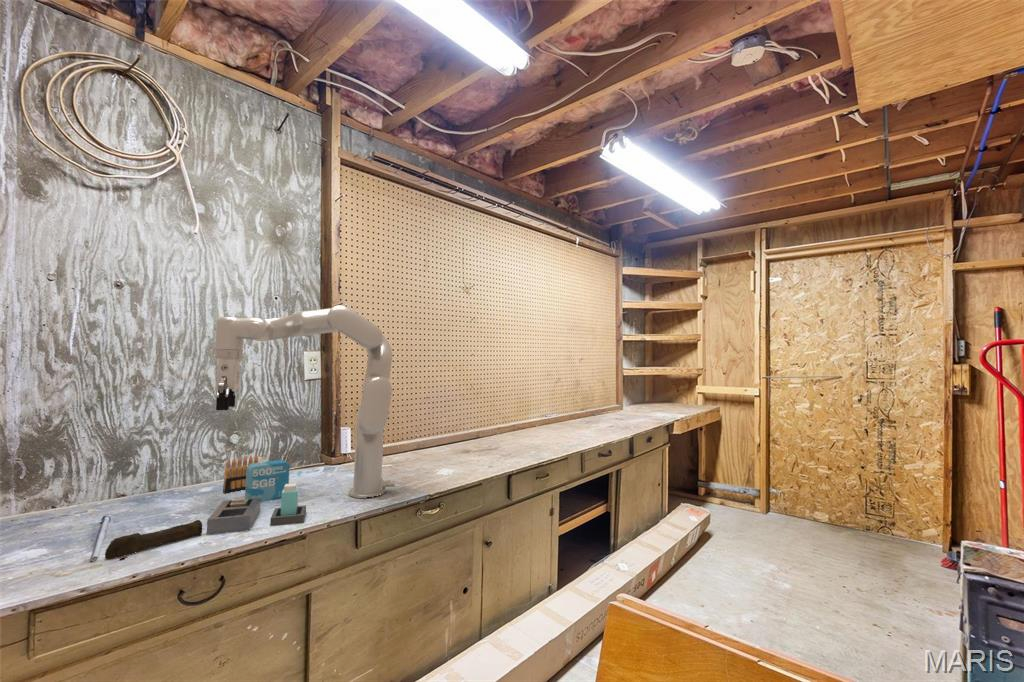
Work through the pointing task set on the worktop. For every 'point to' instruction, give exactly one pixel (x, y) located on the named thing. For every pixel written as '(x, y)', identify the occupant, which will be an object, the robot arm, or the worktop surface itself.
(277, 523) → the dark square frame
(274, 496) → the data package
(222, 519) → the port
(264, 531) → the worktop surface
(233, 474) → the ammunition clip
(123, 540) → the hand tool
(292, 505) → the plug
